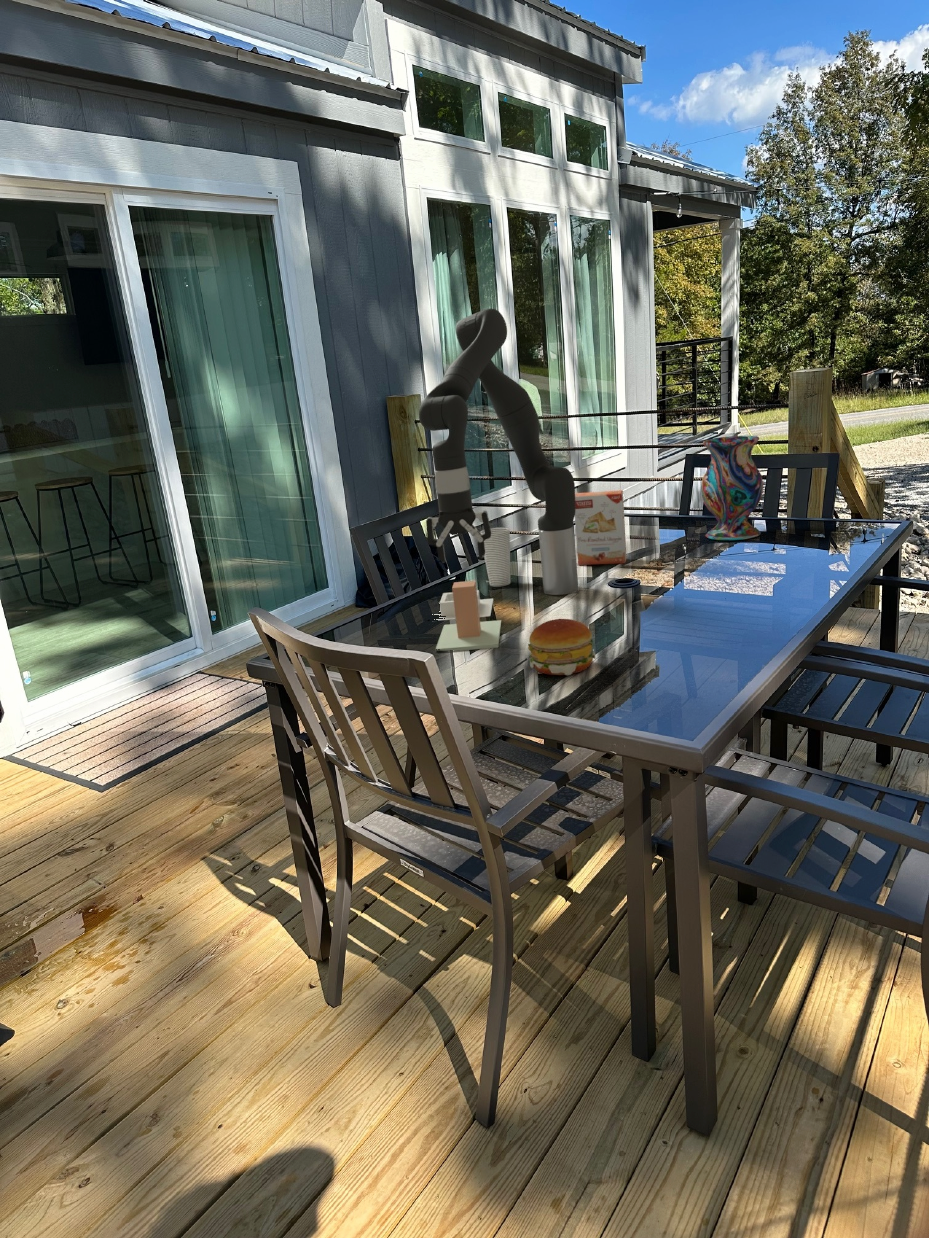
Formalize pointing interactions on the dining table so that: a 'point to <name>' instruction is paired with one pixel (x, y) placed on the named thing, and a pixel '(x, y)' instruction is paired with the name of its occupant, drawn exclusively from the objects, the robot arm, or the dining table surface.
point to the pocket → (449, 610)
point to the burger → (561, 647)
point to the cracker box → (600, 527)
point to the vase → (732, 487)
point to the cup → (498, 556)
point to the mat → (485, 640)
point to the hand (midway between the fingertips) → (462, 559)
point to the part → (466, 609)
